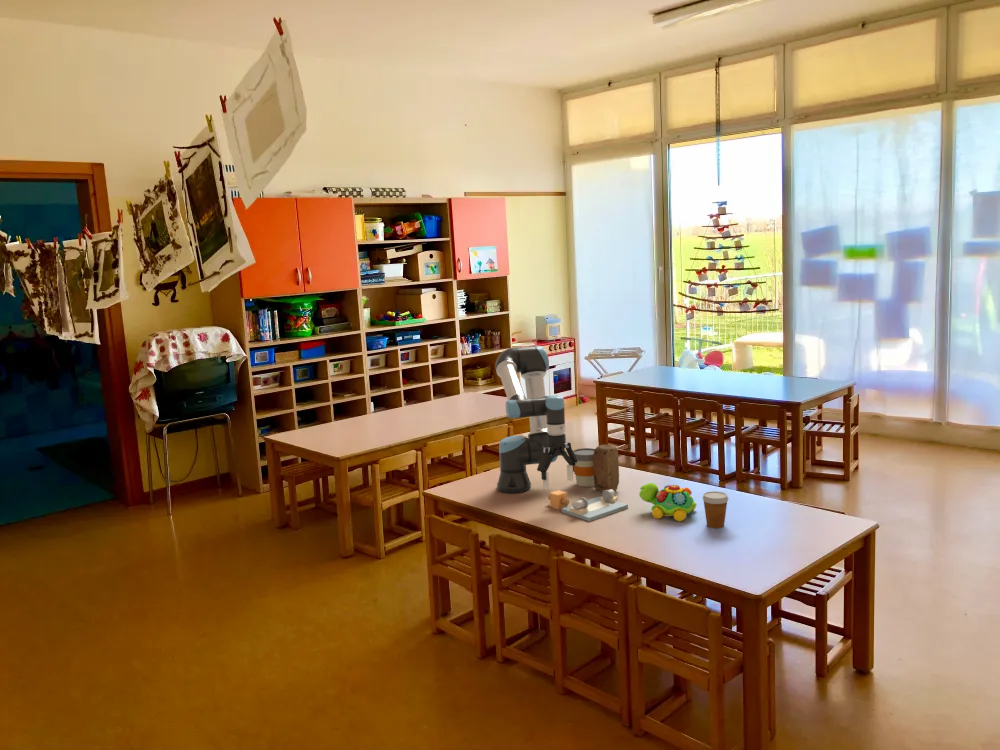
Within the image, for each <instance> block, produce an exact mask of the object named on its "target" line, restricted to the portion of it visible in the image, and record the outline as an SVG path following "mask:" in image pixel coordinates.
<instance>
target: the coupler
mask: <svg viewBox="0 0 1000 750" xmlns="http://www.w3.org/2000/svg"><path fill="white" fill-rule="evenodd" d="M547 499H548V500H549V507H550V508H553V509H557V510H562V508H565V507H568V506H569V505H570V500H569V499H568V492H566V491H562V490H559V489H558V490H555V491H551V492H549V495H548V497H547Z"/></svg>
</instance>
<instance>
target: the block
mask: <svg viewBox="0 0 1000 750" xmlns="http://www.w3.org/2000/svg"><path fill="white" fill-rule="evenodd" d="M594 449H595V450H594V453H593V469H594V486H593V487H594V488H595V489H596V490H598V491H600V492H601V493H602V492H603V491H604V490H610V489H613V490H614V492H616V491H617V490H618V487H619V484H620V464H619V462H620V461H619V451H618V448H617V446H614V445H611V444H606V443H603V444H600V445H599V446H598V445H597V446H596V447H595V448H594Z"/></svg>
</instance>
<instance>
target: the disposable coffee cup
mask: <svg viewBox="0 0 1000 750" xmlns="http://www.w3.org/2000/svg"><path fill="white" fill-rule="evenodd" d="M702 495H703V496H702V500H703V505H704V514H705V520H706V526H707V527H708V528H712V529H720V528H723V527H725V523H726V512H727V505H728V501H729V499H730V498H729V496H728V494H727V493H725V492H722V491H715V490H714V491H713V490H712V491H706V492H705V493H703V494H702Z"/></svg>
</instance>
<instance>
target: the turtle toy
mask: <svg viewBox="0 0 1000 750" xmlns="http://www.w3.org/2000/svg"><path fill="white" fill-rule="evenodd" d="M692 494H693V492H692V490H691V489H690V488H689V487H687V486H686V487H684V488H683V487H681V486H680V485H678V484H668V485H665V486H664V487H663V488H662V489H659V488H658V486H657V485H656V484H655V483H653V482H649V483H646V484H643V485H641V486H640V492H639V495H638V496H639V497H640V499H641V500H642V501H644V502H647V503H651V504H652V506H651V511H652V513H651V514H652V517H653V518H654V519H656V520H659V519H662V517H670V516H671V517H673V519H674V520H675V521H677V522H682V521H684V520H685V519H686V518H687V514H690V513H691V512H693V511H695V510H696V508H697V503H696V502H695V500H694V498H693V497H692Z"/></svg>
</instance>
